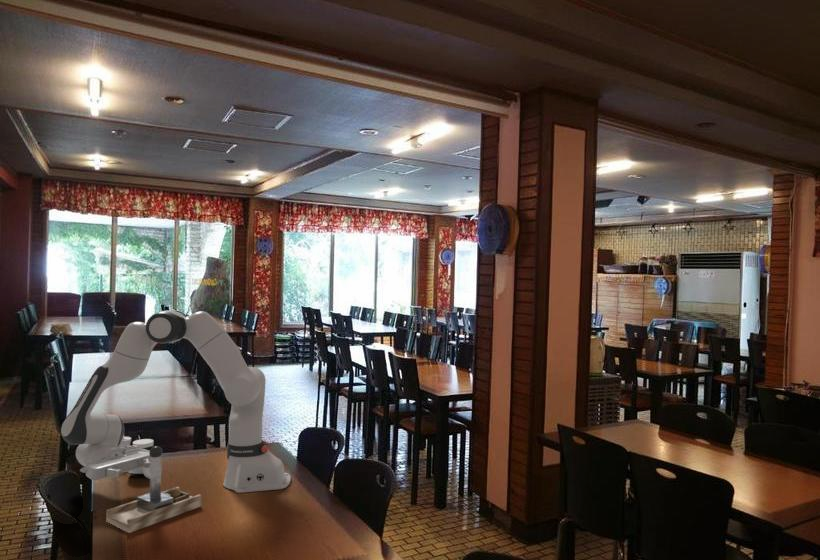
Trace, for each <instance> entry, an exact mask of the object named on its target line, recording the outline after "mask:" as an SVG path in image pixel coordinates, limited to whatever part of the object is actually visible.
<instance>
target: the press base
mask: <svg viewBox="0 0 820 560" xmlns="http://www.w3.org/2000/svg"><path fill="white" fill-rule="evenodd" d="M174 488H178V489H179V490H180V492H181V495H180V497H177V498H175V499H174V501H173V504H170V505H167V506H165V507H162V508H159V509H156V510H153V511H150V512H149V511H147V510H145V509H142V508H140V507H138V506H137V499H136V500H133V501H129V502H127V503H123V504H120V505H117V506H115V507H111V508H109V509H106V510H105V516H106V517H105V523H107V522H108V523H107V524H109V523H110V524H109V525H111V524H112V525H111V526H113V525H114V527H115V526H116V528H117V529H119V528H120V530H122V531H124V532H125V533H129V534H131V533H133V532H136V531H139V530H141V529H144V528H146V527H150V526H152V525H155V524H158V523H160V522H163V521H165V520H168V519H171V518H174V517H176V516H180V515H182V514H184V513H187V512H189V511H194V510H195V509H198V508H201V507H202V495H201V494H200V493H199V494H197V495H193V496H192V495H190V493H188V492H185V491H182V490H181V489H180V486H175V487H174ZM168 490H169V489H166V490H164V491H162V492H164V493H167V492H168Z"/></svg>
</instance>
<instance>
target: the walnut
mask: <svg viewBox="0 0 820 560" xmlns="http://www.w3.org/2000/svg"><path fill="white" fill-rule="evenodd" d="M167 490H168V492H167V494H170V495H171V497H173V501H174V499H175V498H177V497H180V495H181V492H180V491H181V489H180V490H179V489H178V488H175V487H171V488H169V489H167Z"/></svg>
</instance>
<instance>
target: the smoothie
mask: <svg viewBox="0 0 820 560" xmlns="http://www.w3.org/2000/svg"><path fill="white" fill-rule="evenodd" d="M131 442H132V437H130V436H125V434H124V435H123V438H122V441H121V443H120V444H119V446H131Z"/></svg>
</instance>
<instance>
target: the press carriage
mask: <svg viewBox="0 0 820 560" xmlns="http://www.w3.org/2000/svg"><path fill="white" fill-rule="evenodd" d="M153 446H154V445H153ZM149 455H150V479H149V492H148V493H145V494H142V495H139V496H137V497H136V500H137V506H138V507H140V508H142V509H145V510H147V511H149V512H150V511H153V510H156V509H159V508H162V507H165V506H167V505H170V504H173V497H171V495H170V494H167V493H164V492H163V491H162V471H161V465H162V455H163V448H162V447H161V446H159V445H155V446H154V447H152V448H151V449H150V452H149Z"/></svg>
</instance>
